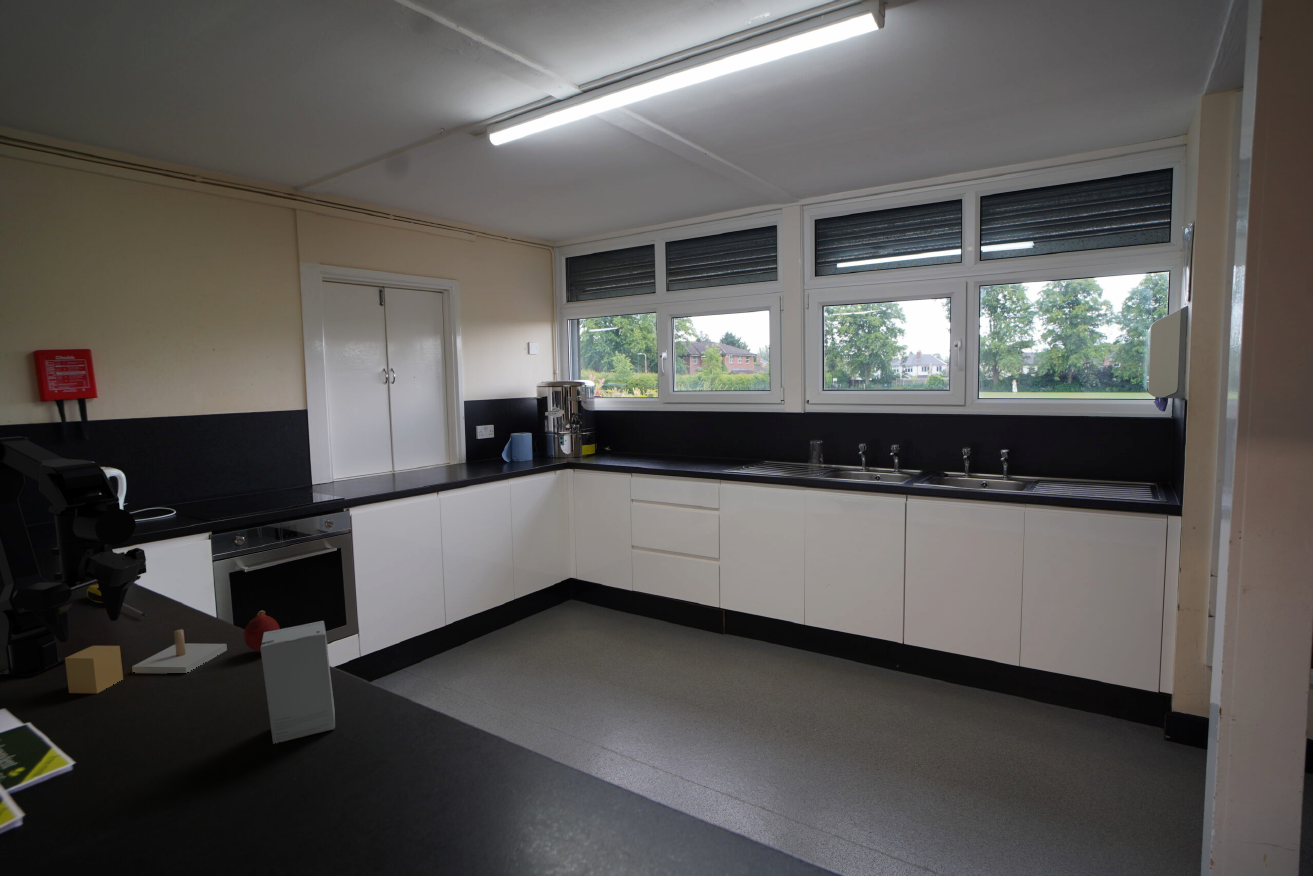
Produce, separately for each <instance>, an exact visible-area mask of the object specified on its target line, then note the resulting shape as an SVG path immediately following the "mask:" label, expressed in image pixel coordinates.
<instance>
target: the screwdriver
mask: <svg viewBox="0 0 1313 876" xmlns="http://www.w3.org/2000/svg"><path fill="white" fill-rule="evenodd" d="M86 597H87V598H88V599H89V600H91V601H92V602H93V603H94V602H95V603H96V604H97V603H99V604H104V602H103V598H102V595H101V592H100V589H99V586H98V583H97V584H96V583H95V584H91V585H89V586H88V588H87V589H86ZM122 607H123V608H126V609H128V610H130V611H132V612H134V613H137V614H139V615H141V616H142V617H147V614H146V613H144V612H143V611H140V610H138V609H136V608H134V607H132V606H130V605H128V604H126V603H124V602H123V605H122Z"/></svg>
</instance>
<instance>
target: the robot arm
mask: <svg viewBox="0 0 1313 876" xmlns="http://www.w3.org/2000/svg"><path fill="white" fill-rule="evenodd" d="M25 476H28V477H29V478H31V479H33V480H35V481H36V482H38V491H39V492H40V494H43V496H44V497H45V498H46V499H47V500H48V501H49V502H50V504H51V505H49V507H48V512H50V513H53V515H54V516H53V517H54V526H55V533H56V534H55V535H56V536H55V537H56V543H57V547H55V548H51V549H50V553H51V556H58V561H59V569H60V570H59V572H56V573H54V574H53V579H54V581H52V582H50V581H48V580H47V579H46V578H44V577H43V576H42V575H41V572H40V569H39V568H40V567H39V565H38V561H37V558H36V555H35V551H34V548H33V545H32V541H31V539H30V535H29V531H28V527H27V525H26V522H25V518H24V515H23V514H24V513H23V511H22V508H21V504H20V501H19V498H20V495H21V494H22V491H23V489H24V487H25V485H26V478H25ZM136 523H137V521H136V519H135V518H134V516H133V515H132V514H131V512H129V511H127V510H125V509H123V508H121V506H120V498H119V496H118V489H116V487H115V486H114V484H113V483H112V481H111V480H110V478H108V475H107V474H106V472H105V471H104V469H103V468H102V467H101V466H100V465H99V464H98V463H96V462H95V461H91V460H87V459H86V460H85V459H77V458H76V459H74V458H73V459H72V458H71V459H70V458H69V459H68V458H64V457H62V456H60V455H58V454H56V453H54V452H52V451H50V450H48V449H47V448H44V447H42V446H40V445H38V444H36V443H33V442H32V439H30V438H29V437H27V436H26V437H24V436H22V435H21V436H19V435H18V436H7V437H0V573H1V578H2V581H3V582H4V583H3V584H4V588H3V590H2V593H1V594H0V645H1V646H5V653H6V663H7V669H5V670H3V671H1V672H0V677H33V676H36V675H39V674H41V673H43V672H44V671H47V670H49V669H51V668H54V667H56V666H58V665H60V664H63V663H64V662H65V658H66V657H62V658H61V657H60V658H59V653H58V644H57V643H58V642H57V641H56V639H57V640H58V641H59V642H60V643H67V642H68V641H69V633H70V630H69V620H68V619H69V618H68V617H69V616H68V611H69V609H70V608H71V606H72V605H73V604H74V601H69V600H70V598H71V596H72V592H74V591H76V590H80V589H82V588H84V587H87V586H88V587H89V586H92V585H95V584H96V583H97V584H98V586H99V589H100V592H101V595H102V598H103V602H104V603H103V605H104V607H105V608H104V609H105V611H106V613H107V616H108V619H109V620H110V621H111V622H116V621H118V620H119V617H120V615H121V611H122V609H123V608H122V607H123V606H122V605H123V603H124V601H125V598H126V596H127V592H128V591H129V588H130V587H131V586H132V585H133V584H134V583H135V582H136V581H138V580H140V579H141V577H142V576H141V575H143V574H146V573H147V564H146V562H147V558H146V554H145V553H146V552H145V550H144V549H142V548H140V547H134V548H131V549H128V550H127V551H126V552H124V551H122V552H114V551H113V547H112V546H113V545H114V546H116V545H117V546H118V545H120V544H122V543H125V542H126V541H128V540H129V539H130V538H131V537H132V536H133V534H134V532H135V531H136ZM56 581H61V582H56ZM55 638H56V639H55Z"/></svg>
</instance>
